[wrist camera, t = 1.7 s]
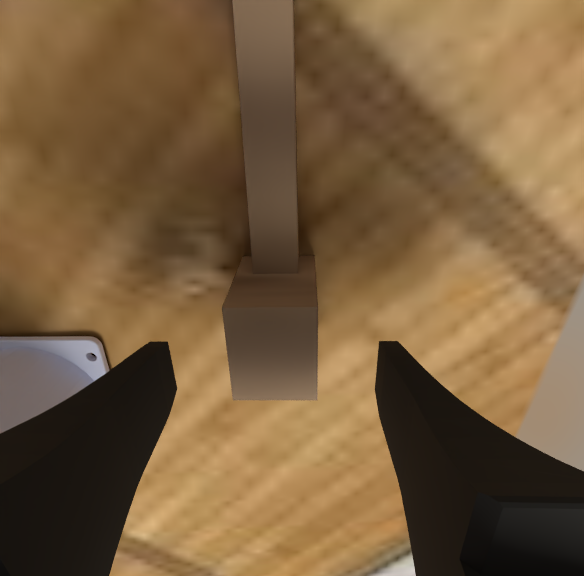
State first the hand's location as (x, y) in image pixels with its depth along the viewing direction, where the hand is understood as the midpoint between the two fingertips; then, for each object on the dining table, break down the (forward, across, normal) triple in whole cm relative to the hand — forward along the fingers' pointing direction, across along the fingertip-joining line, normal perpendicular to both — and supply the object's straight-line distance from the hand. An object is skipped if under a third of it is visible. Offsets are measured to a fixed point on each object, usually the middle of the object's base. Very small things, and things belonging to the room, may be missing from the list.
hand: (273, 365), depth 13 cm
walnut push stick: (+5, 0, -6) cm, 8 cm away
